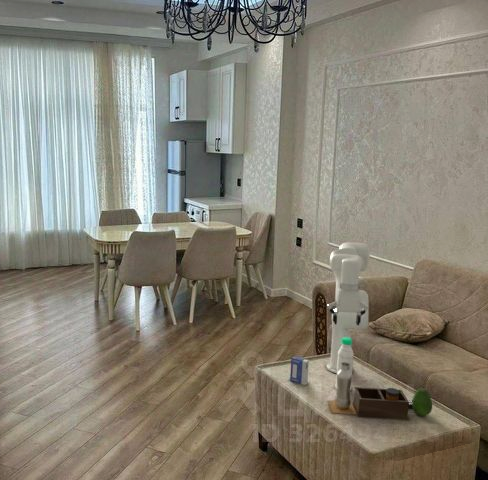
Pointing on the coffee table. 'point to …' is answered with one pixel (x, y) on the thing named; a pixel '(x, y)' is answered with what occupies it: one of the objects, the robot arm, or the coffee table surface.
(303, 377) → the walkman
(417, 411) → the fruit
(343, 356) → the water bottle
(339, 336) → the robot arm
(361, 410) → the brown divided box
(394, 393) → the spice jar
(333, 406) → the cork mat
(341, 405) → the metal flask
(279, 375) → the coffee table surface
